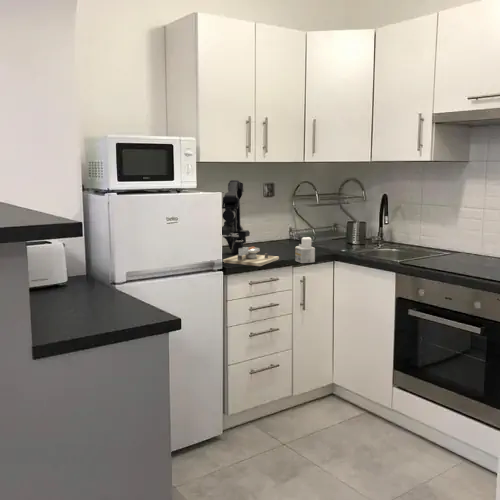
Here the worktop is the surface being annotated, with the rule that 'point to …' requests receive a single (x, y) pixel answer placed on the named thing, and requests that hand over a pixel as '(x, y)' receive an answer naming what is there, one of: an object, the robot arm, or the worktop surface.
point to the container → (305, 251)
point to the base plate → (251, 259)
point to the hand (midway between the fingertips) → (231, 249)
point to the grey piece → (248, 250)
